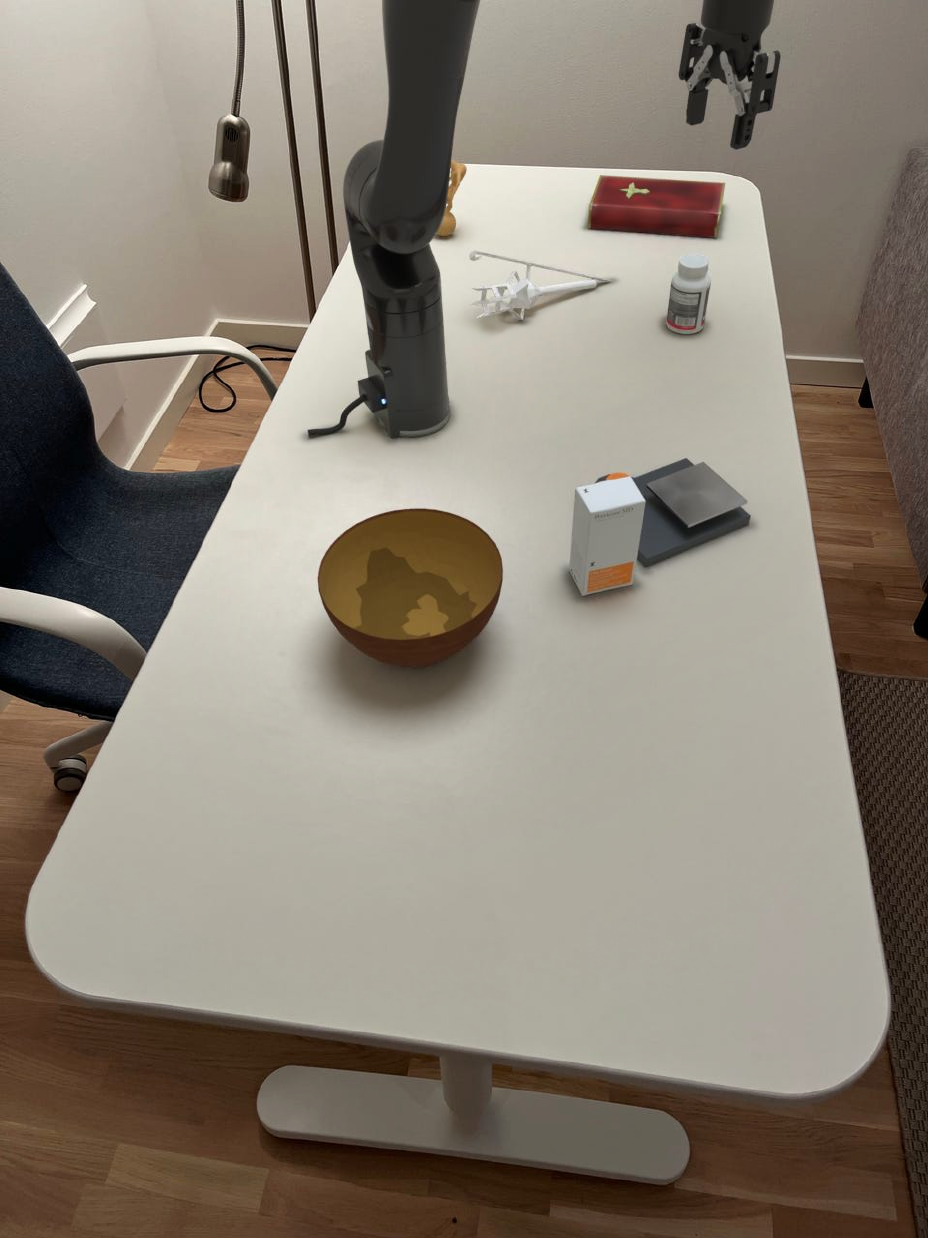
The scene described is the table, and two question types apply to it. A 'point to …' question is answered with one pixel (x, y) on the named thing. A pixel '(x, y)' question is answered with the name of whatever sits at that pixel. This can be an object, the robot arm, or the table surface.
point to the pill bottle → (689, 295)
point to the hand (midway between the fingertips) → (716, 135)
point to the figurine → (456, 177)
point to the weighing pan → (696, 494)
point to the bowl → (411, 585)
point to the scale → (676, 521)
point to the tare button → (616, 476)
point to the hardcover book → (656, 206)
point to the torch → (526, 288)
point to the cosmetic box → (606, 535)
